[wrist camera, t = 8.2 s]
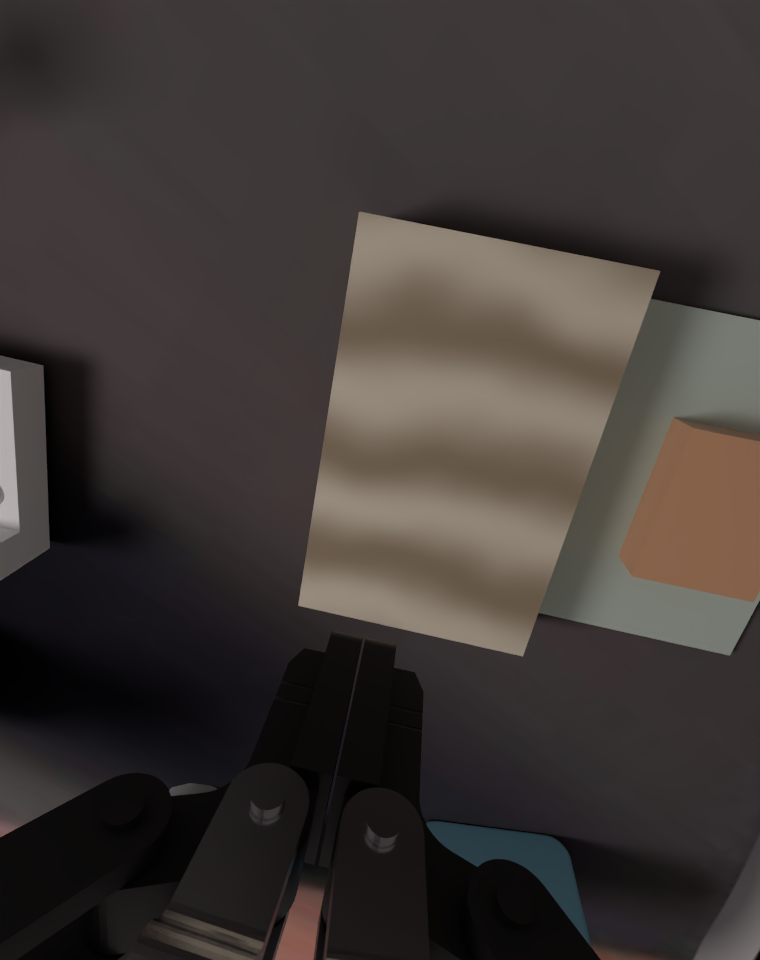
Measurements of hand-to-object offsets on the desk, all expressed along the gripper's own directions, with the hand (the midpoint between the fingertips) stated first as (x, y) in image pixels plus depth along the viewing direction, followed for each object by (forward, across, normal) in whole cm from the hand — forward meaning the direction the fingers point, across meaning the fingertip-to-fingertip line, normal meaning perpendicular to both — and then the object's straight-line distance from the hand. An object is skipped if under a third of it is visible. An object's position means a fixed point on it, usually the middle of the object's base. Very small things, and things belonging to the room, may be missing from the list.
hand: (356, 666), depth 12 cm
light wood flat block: (+21, -3, 0) cm, 21 cm away
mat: (+21, -17, 0) cm, 27 cm away
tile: (+19, -18, +1) cm, 26 cm away
